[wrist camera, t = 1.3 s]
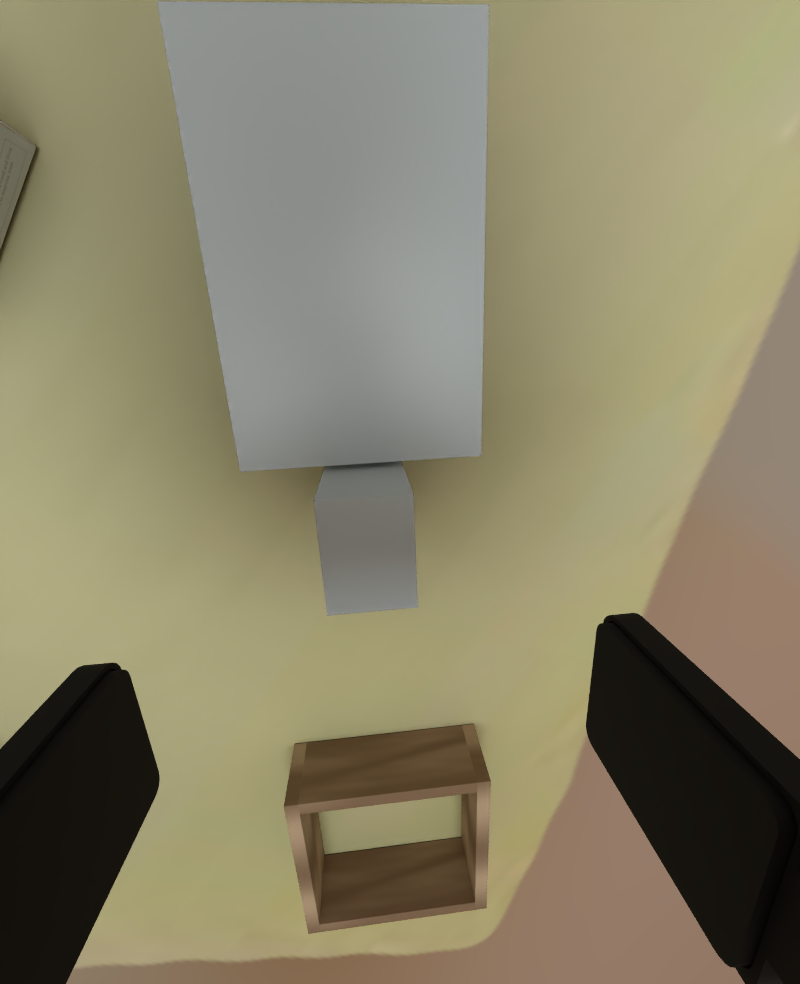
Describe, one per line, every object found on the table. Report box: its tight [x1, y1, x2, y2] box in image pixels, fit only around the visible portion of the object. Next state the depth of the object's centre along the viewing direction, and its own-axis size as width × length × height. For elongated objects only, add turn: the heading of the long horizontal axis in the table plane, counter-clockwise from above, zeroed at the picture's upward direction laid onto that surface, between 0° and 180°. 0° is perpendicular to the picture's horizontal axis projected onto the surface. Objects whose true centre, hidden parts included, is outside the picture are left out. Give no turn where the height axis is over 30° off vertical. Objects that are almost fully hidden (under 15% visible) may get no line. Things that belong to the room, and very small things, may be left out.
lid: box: [157, 1, 489, 616], centre depth 13 cm, size 17×9×4 cm, turn 3°
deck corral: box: [284, 724, 491, 934], centre depth 28 cm, size 12×12×4 cm
